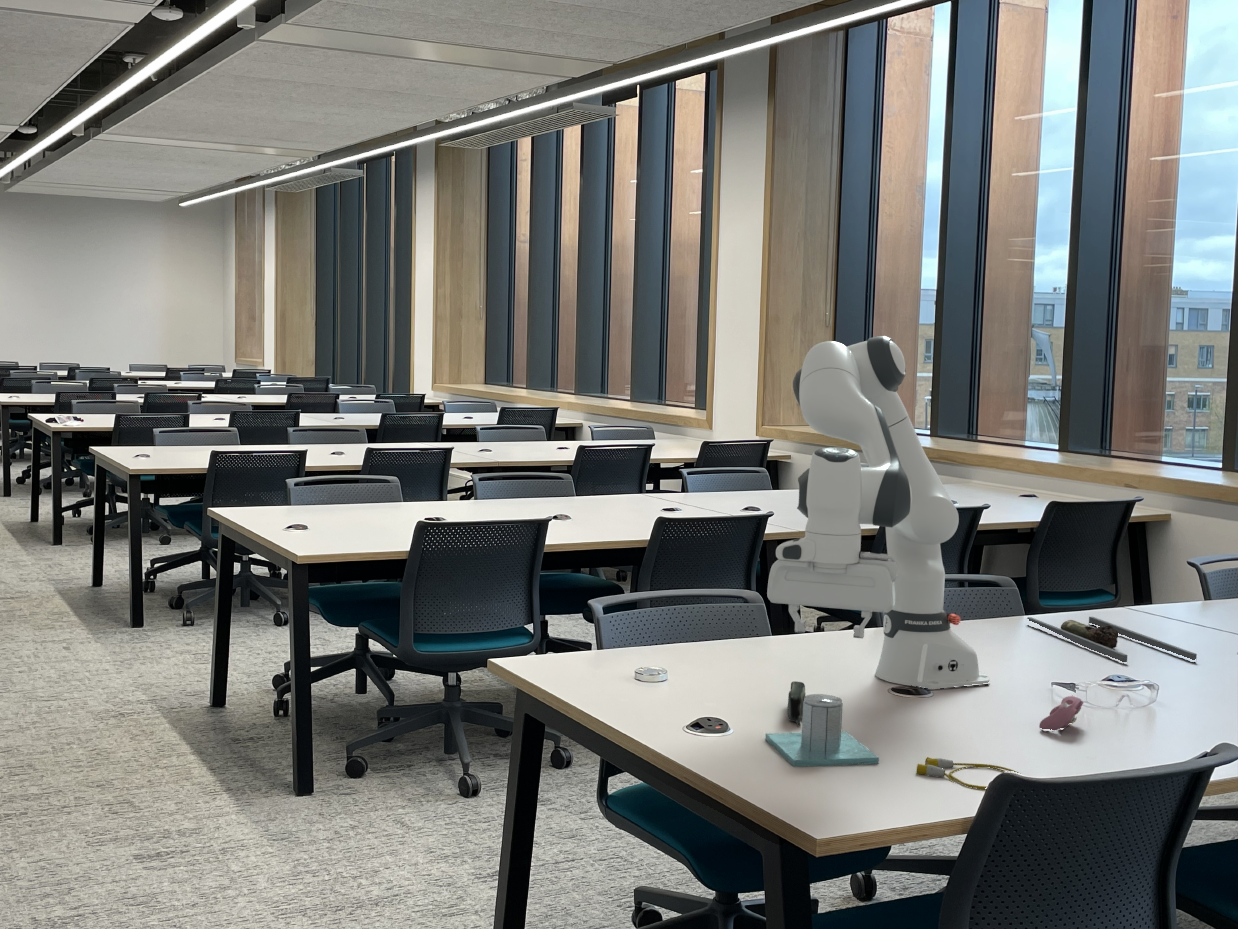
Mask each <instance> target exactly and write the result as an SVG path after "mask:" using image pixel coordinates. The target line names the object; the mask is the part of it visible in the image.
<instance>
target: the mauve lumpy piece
mask: <svg viewBox="0 0 1238 929" xmlns="http://www.w3.org/2000/svg"><path fill="white" fill-rule="evenodd" d="M1083 705H1084V701H1083V700H1082V699H1081V698H1078V696H1073V695H1069V696H1066V697H1065V696H1064V698H1062V700H1061V701H1060V704H1058V705H1057V706H1054V708H1052V709H1051V711H1050V712H1049V715H1048V716H1046V717H1044V718H1042V719H1041V721H1040V723H1039V729H1040V728H1042V729H1050V730H1051V729H1052V730H1056V731H1058V730H1060V728H1065V727H1066V726H1067V725H1068V724H1069V723H1072V724H1073V723H1076V721H1077V718H1078V717H1077V716H1076V715H1077V714H1079V712H1080V711H1081V709H1082V707H1083ZM1069 725H1070V724H1069ZM1069 725H1068V726H1069ZM1068 726H1067V727H1068ZM1067 727H1066V728H1067ZM1066 728H1065V729H1066Z"/></svg>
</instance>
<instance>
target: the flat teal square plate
mask: <svg viewBox="0 0 1238 929" xmlns="http://www.w3.org/2000/svg"><path fill="white" fill-rule="evenodd" d="M765 740H766V741H767V742H768V743H769V745H771V746H772V747H773V749H775V750H776V751H777V752H778V753H779V754H780V755H781V756H782V757H783V758H784V759H785V760H786V761H788V763H789V764H791V765H792V767H817V766H818V767H821V766H823V767H825V766H852V765H878V764H879V759H880V757H879V756H878V755H876V754H875V753H874V752H873V751H871V750H870V749H869V748H868V747H866V746H865V745H864V744H862V743H861V742H860V741H858V740H857V739H856V738H855V737H854V736H852V735H851V734H849V733H848V732H847V731H845V730H843V731H842V730H841V746H840V748H839V749H838V750H832V751H819V750H811V749H808V748H806V747H804V746H802V745H801V740H802V732H778V733H777V732H773V733H765Z"/></svg>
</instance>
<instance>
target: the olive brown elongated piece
mask: <svg viewBox="0 0 1238 929" xmlns="http://www.w3.org/2000/svg"><path fill="white" fill-rule="evenodd" d="M1060 629H1062V630H1065V631H1067V632H1070V633H1072V634H1075V635H1077V636H1080V637H1083V638H1085V639H1088V640H1090V641H1093V642H1095V643H1098V644H1100V645H1103V646H1105V647H1108V648H1111V649H1113V650H1114V648H1117V647H1118V646H1117V644H1118V638H1119V636H1118V632H1117V630H1116V629H1114V628H1113V627H1112V626H1109V625H1105V626H1101V627H1098V628H1097V627H1094V626H1091V625H1089V624H1088V625H1087V624H1085V623H1082V622H1079V621H1076V620H1074V619H1067V620H1065V621H1064V622H1062V624H1061V625H1060Z"/></svg>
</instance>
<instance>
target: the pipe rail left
mask: <svg viewBox="0 0 1238 929" xmlns="http://www.w3.org/2000/svg"><path fill="white" fill-rule="evenodd" d="M1027 619H1029V621H1032V622H1034V623H1037V624H1039V625H1040V626H1042V627H1045V628H1047V629H1049V630H1051V631H1053V632H1055V633H1057V634H1059V635H1062V636H1063V637H1065V638H1067V639H1070V640H1071V641H1073V642H1075V643H1078V644H1080V645H1082V646H1084V647H1087V648H1089V649H1091V650H1094V651H1097V652H1099V653H1102V654H1104V655H1108V656H1110V657H1112V658H1115V659H1118V660H1120V661H1122V662H1127V663H1128V654H1126V653H1124V652H1121V651H1118V650H1115V649H1114V648H1113V649H1111V648H1108V647H1105V646H1103V645H1100V644H1098V643H1095V642H1093V641H1090V640H1088V639H1085V638H1083V637H1080V636H1077V635H1075V634H1072V633H1070V632H1067V631H1065V630H1062V629H1061V627H1058V626H1054V625H1052V624H1049V623H1047V622H1044V621H1042V620H1040V619H1037V618H1034V617H1031V616H1030V617H1029V616H1028V617H1027V618H1026V620H1027Z"/></svg>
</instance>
